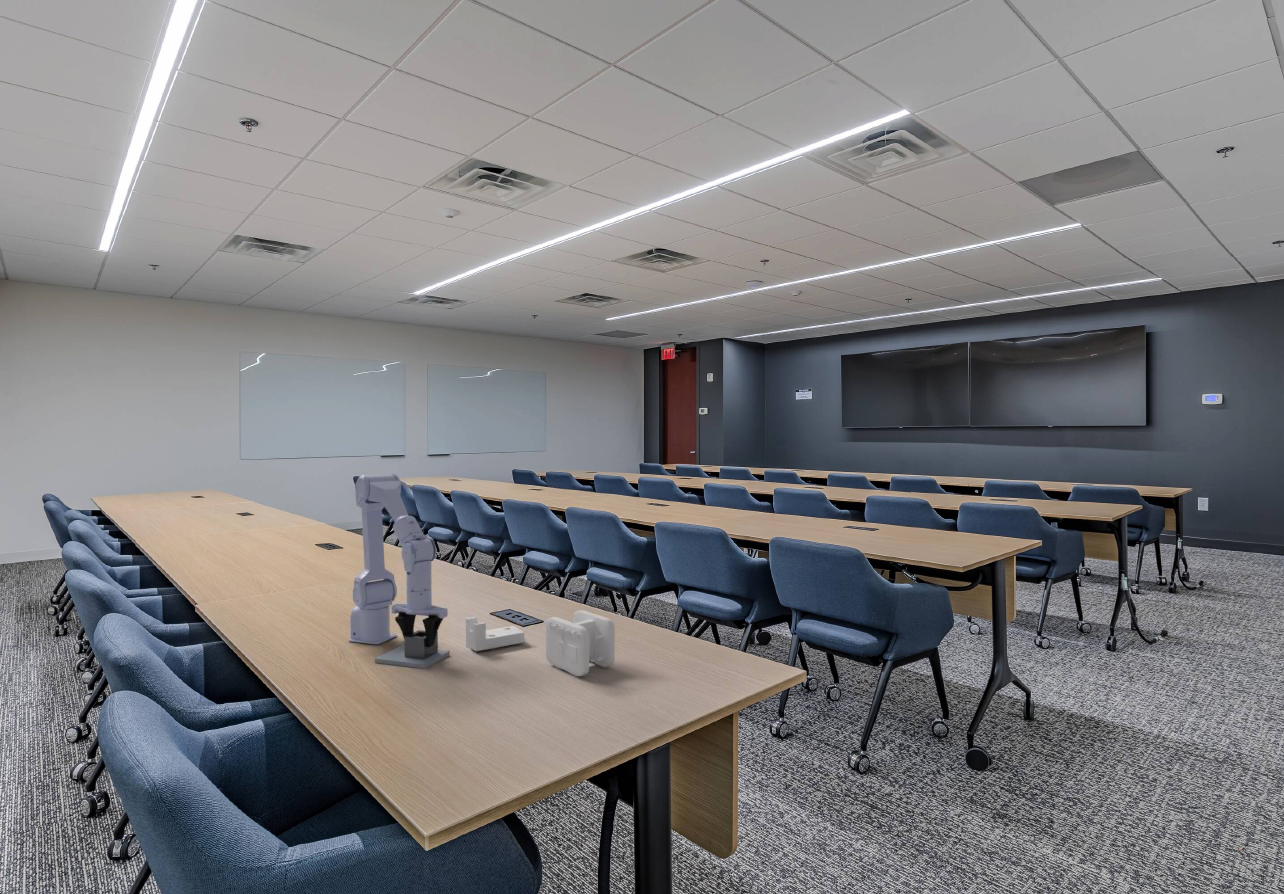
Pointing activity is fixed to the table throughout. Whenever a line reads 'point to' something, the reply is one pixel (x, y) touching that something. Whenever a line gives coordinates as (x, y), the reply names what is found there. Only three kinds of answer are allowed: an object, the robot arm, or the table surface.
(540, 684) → the table surface
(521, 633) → the bracket
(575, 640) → the cable organizer
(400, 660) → the plate with peg
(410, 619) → the robot arm
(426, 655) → the dark grey hollow block
